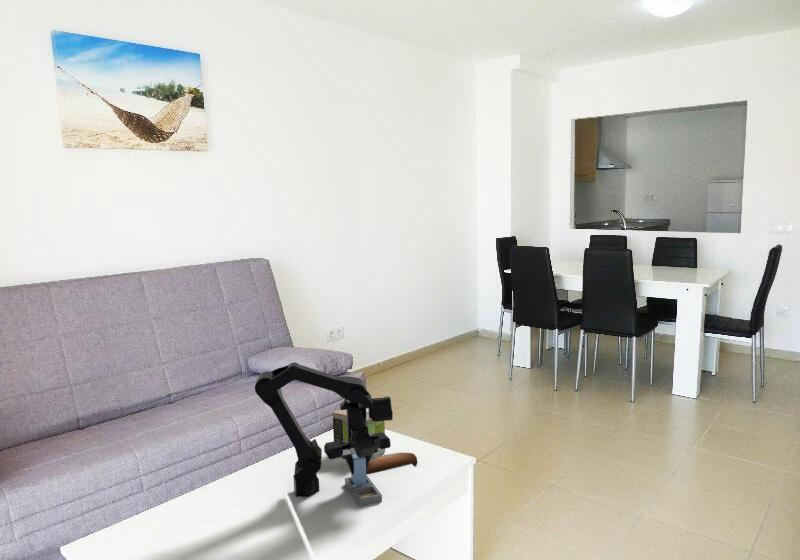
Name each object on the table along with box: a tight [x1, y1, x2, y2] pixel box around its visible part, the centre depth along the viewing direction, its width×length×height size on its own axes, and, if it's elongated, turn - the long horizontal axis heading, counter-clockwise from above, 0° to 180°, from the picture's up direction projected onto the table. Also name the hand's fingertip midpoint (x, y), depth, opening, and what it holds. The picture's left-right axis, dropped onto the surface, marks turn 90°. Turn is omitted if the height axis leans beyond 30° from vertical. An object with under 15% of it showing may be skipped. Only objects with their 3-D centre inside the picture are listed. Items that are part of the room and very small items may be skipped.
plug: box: [350, 454, 367, 486], centre depth 170 cm, size 4×4×8 cm
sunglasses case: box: [366, 452, 418, 475], centre depth 185 cm, size 18×7×7 cm
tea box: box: [332, 408, 386, 460], centre depth 194 cm, size 15×10×15 cm
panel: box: [344, 474, 383, 508], centre depth 167 cm, size 8×14×3 cm, turn 23°
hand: (358, 472), depth 170 cm, fingers closed on plug, 3 cm apart
